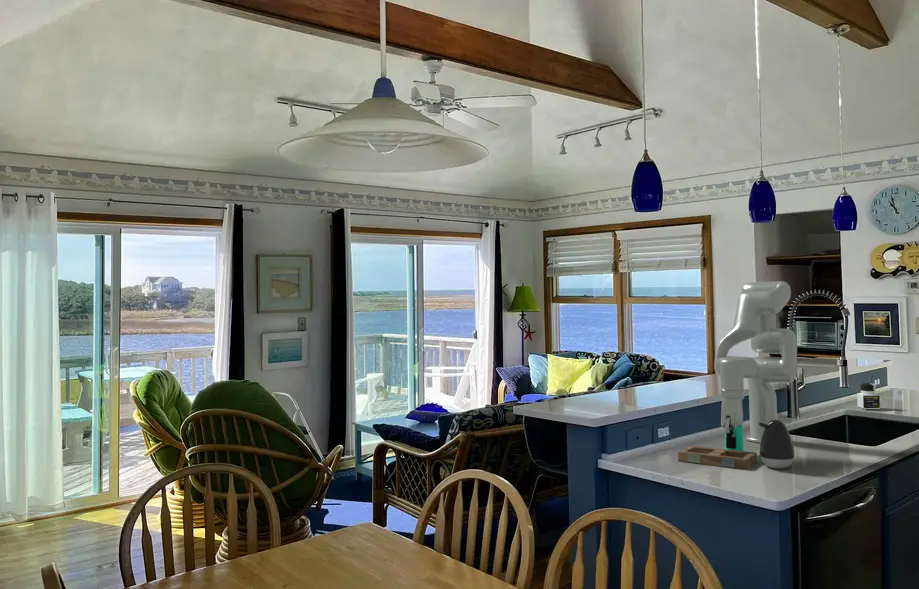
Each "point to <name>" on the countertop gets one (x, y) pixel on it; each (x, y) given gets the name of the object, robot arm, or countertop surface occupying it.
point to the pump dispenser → (776, 445)
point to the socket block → (718, 457)
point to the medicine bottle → (868, 396)
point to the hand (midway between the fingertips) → (733, 446)
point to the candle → (737, 438)
